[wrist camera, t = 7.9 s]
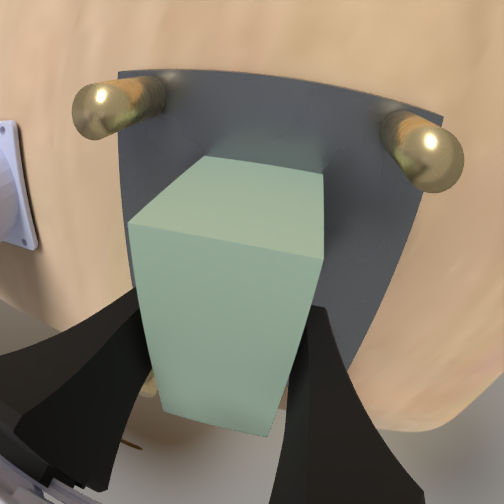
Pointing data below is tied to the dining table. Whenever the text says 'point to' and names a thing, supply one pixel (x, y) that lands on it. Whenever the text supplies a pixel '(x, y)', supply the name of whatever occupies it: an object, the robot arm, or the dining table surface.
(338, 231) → the plate
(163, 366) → the board block
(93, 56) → the dining table surface
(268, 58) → the dining table surface
